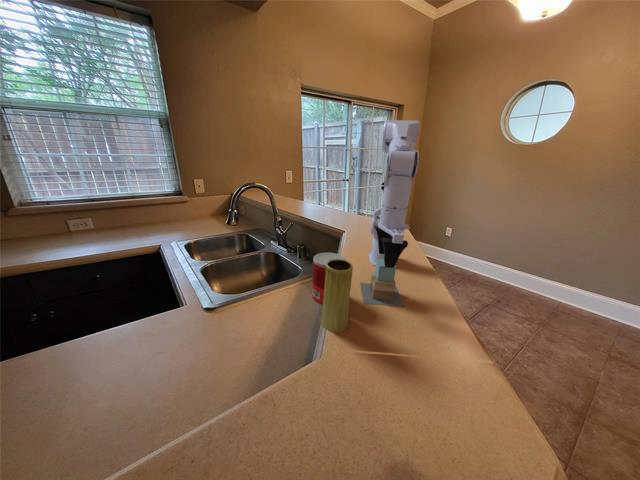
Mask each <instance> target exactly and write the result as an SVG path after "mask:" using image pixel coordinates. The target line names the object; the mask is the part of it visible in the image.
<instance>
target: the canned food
mask: <svg viewBox="0 0 640 480" xmlns="http://www.w3.org/2000/svg"><path fill="white" fill-rule="evenodd" d="M333 259H342V260H346V261H347V258H345V256H343V255H341V254H338V253H336V252H319V253H317V254H315V255H313V259H312V275H311V277H312V279H311V296H312V299H313V300H314V301H315V302H316V303H317V304H319V305H322V306H323V298H324V287H325V275H326V263H327V262H328V261H330V260H333Z"/></svg>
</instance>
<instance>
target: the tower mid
mask: <svg viewBox="0 0 640 480" xmlns="http://www.w3.org/2000/svg"><path fill="white" fill-rule="evenodd" d="M370 278H371V279H370V283H371V282H372V285H373V289H374V290H380V291H394V289H395V285H396V281H395V279H394V282H392V281H378V280H377V277H376V274H375V271H372V272H371V277H370Z"/></svg>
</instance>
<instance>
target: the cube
mask: <svg viewBox="0 0 640 480" xmlns="http://www.w3.org/2000/svg"><path fill="white" fill-rule="evenodd" d="M396 270H397V265H396V266H395V267H394V268H387V267H385V264H384V259H377V262H376V265H375V271H374V272H375V274H376V277H377V280H378V281H392V282H394V280H395V275H396Z"/></svg>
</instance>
